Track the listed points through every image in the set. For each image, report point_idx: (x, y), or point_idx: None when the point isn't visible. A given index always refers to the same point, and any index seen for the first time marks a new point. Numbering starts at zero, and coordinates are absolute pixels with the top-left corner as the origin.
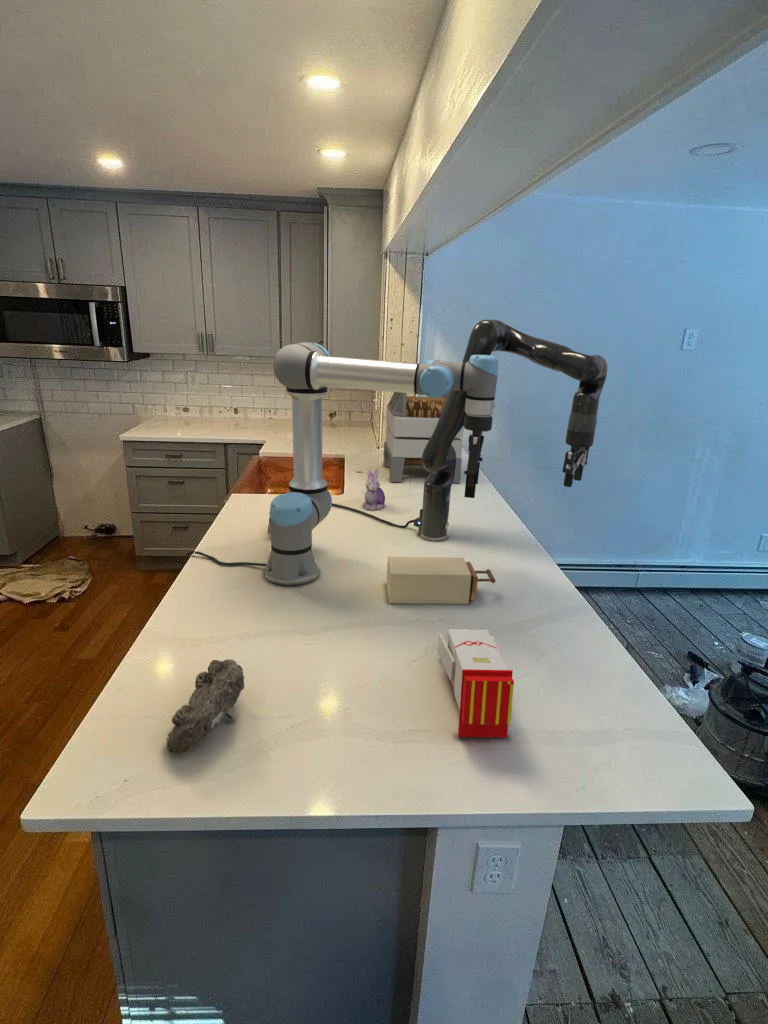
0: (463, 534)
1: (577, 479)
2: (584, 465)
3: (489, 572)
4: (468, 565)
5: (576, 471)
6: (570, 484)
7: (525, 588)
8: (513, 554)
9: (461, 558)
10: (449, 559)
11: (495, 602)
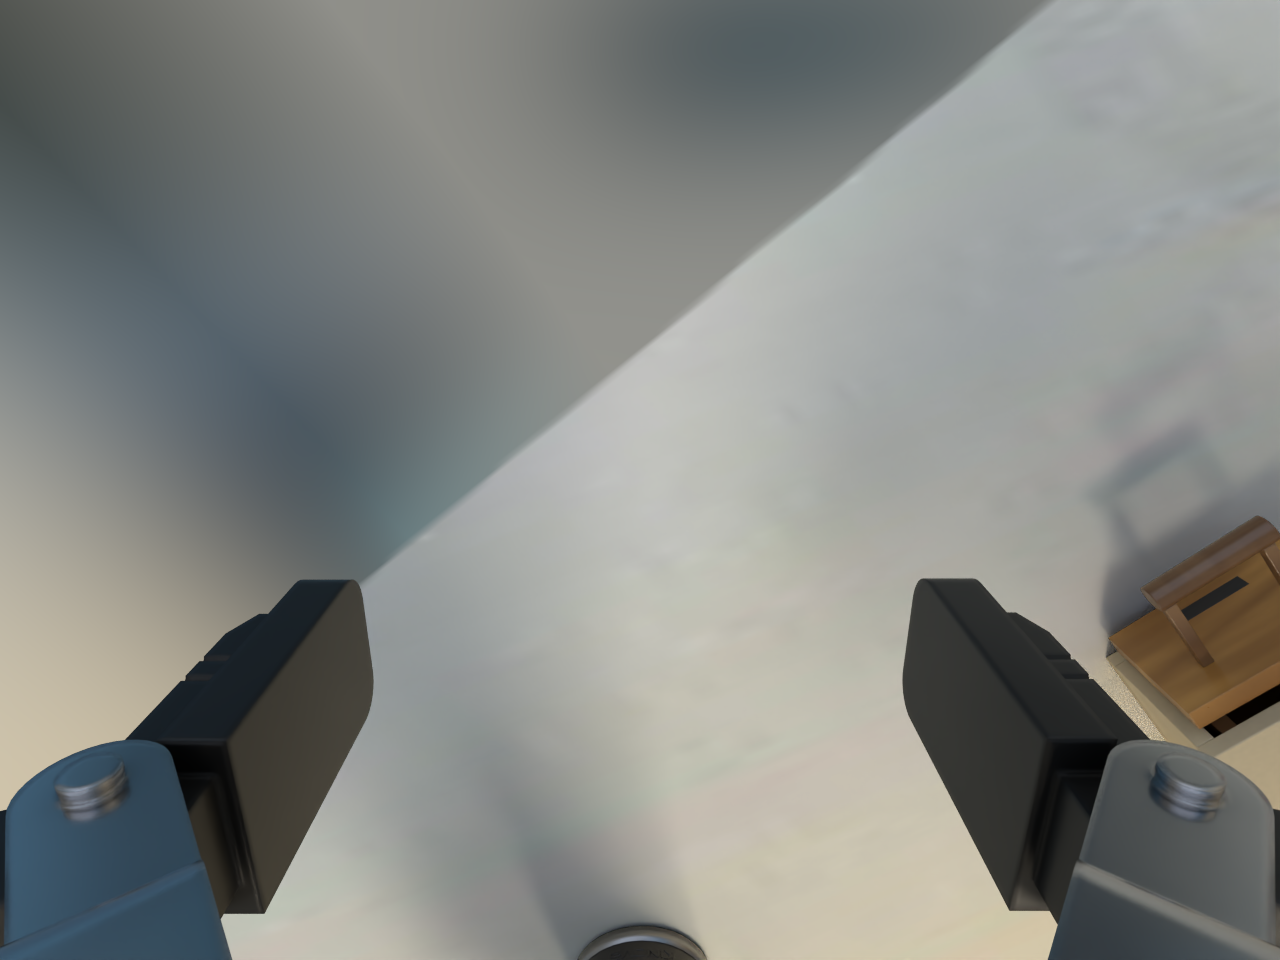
0: (509, 894)
1: (357, 637)
2: (49, 803)
3: (1202, 584)
4: (1249, 699)
5: (300, 796)
6: (984, 613)
7: (960, 396)
8: (566, 615)
9: (1229, 761)
10: (1276, 799)
11: (1208, 454)
